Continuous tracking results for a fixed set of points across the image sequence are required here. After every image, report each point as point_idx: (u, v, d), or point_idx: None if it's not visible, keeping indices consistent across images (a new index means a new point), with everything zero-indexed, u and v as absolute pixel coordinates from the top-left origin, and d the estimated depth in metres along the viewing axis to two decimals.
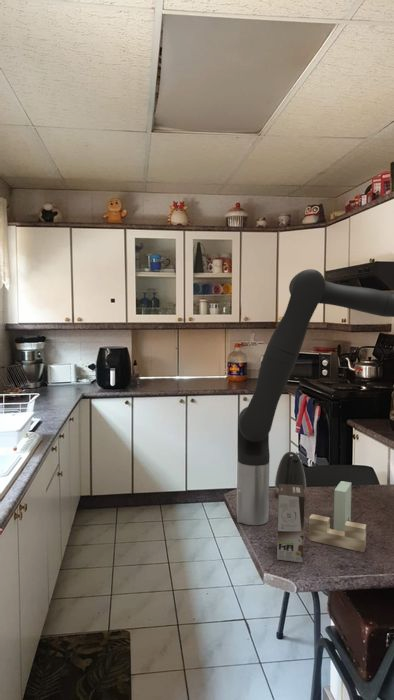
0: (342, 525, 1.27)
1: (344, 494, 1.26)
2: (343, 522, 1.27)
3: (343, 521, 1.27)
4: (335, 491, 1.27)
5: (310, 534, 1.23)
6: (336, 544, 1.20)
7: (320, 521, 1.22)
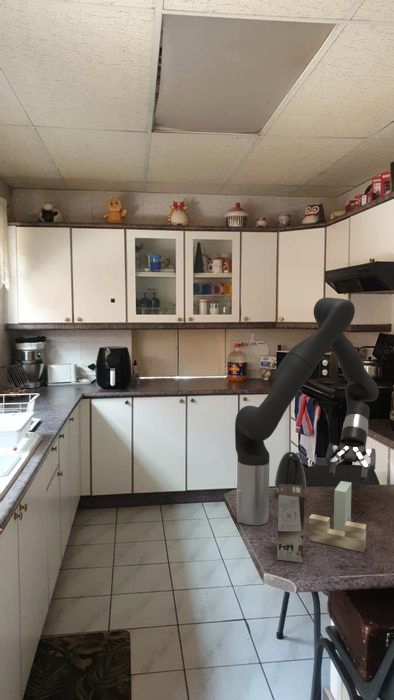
0: (342, 525, 1.27)
1: (344, 494, 1.26)
2: (343, 522, 1.27)
3: (343, 521, 1.27)
4: (335, 491, 1.27)
5: (310, 534, 1.23)
6: (336, 544, 1.20)
7: (320, 521, 1.22)
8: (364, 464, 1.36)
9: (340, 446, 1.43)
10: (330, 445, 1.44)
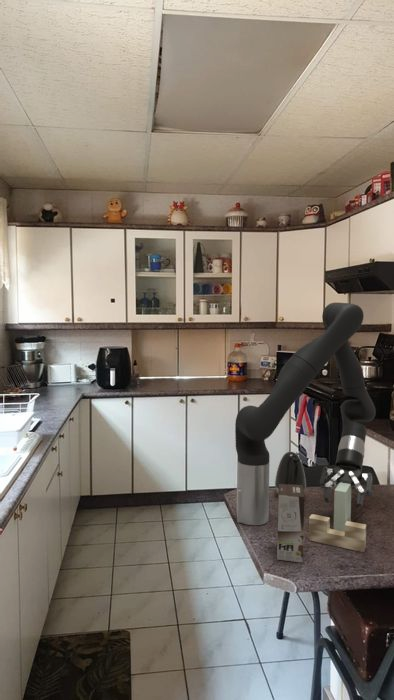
0: (342, 525, 1.27)
1: (344, 494, 1.26)
2: (343, 522, 1.27)
3: (343, 521, 1.27)
4: (335, 491, 1.27)
5: (310, 534, 1.23)
6: (336, 544, 1.20)
7: (320, 521, 1.22)
8: (360, 490, 1.30)
9: (335, 469, 1.37)
10: (325, 468, 1.38)
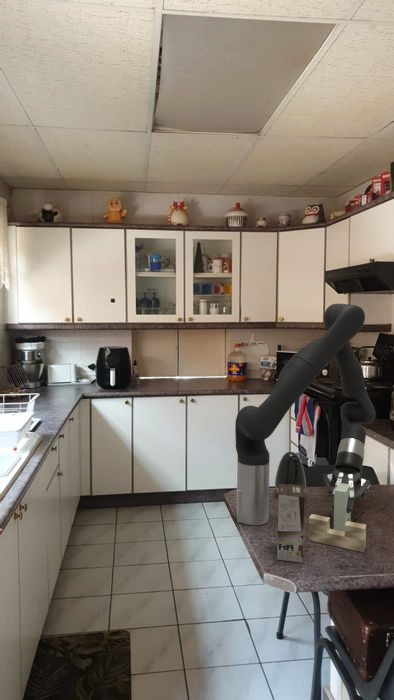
0: (342, 525, 1.27)
1: (344, 494, 1.26)
2: (343, 522, 1.27)
3: (343, 521, 1.27)
4: (335, 491, 1.27)
5: (310, 534, 1.23)
6: (336, 544, 1.20)
7: (320, 521, 1.22)
8: (350, 494, 1.30)
9: (335, 473, 1.36)
10: (325, 476, 1.37)
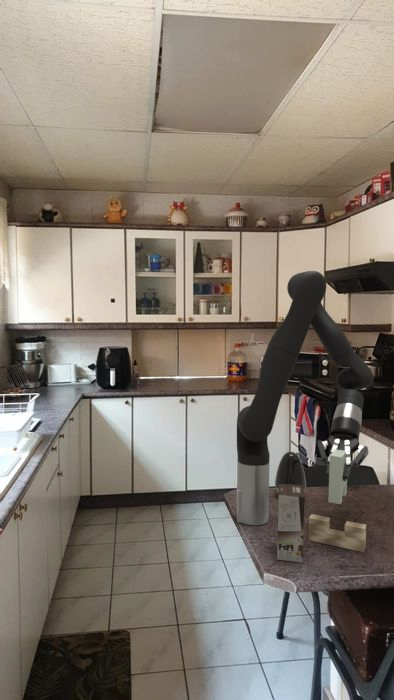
0: (338, 493, 1.17)
1: (340, 459, 1.17)
2: (339, 490, 1.17)
3: (339, 489, 1.17)
4: (330, 457, 1.18)
5: (310, 534, 1.23)
6: (336, 544, 1.20)
7: (320, 521, 1.22)
8: (346, 461, 1.21)
9: (330, 439, 1.27)
10: (319, 442, 1.27)
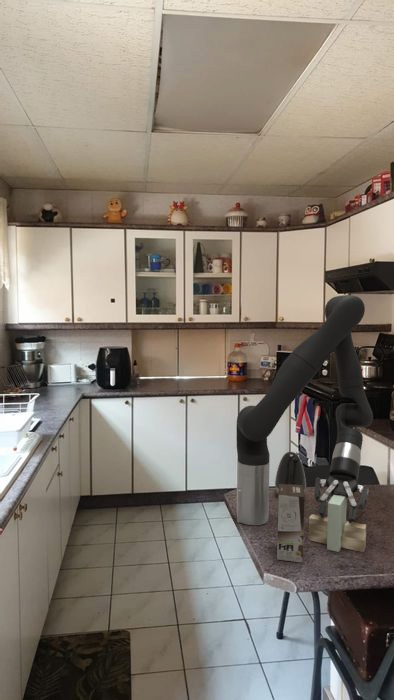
0: (337, 541, 1.17)
1: (338, 507, 1.17)
2: (337, 538, 1.17)
3: (337, 537, 1.17)
4: (329, 504, 1.18)
5: (310, 534, 1.23)
6: None
7: (320, 521, 1.22)
8: (352, 503, 1.20)
9: (329, 479, 1.27)
10: (317, 480, 1.27)
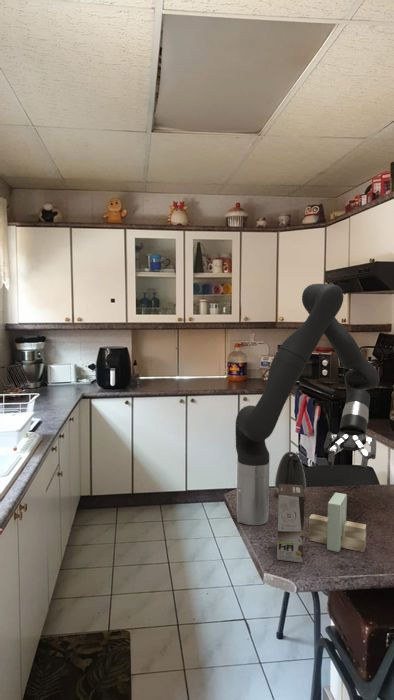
0: (337, 541, 1.17)
1: (338, 507, 1.17)
2: (337, 538, 1.17)
3: (337, 537, 1.17)
4: (329, 504, 1.18)
5: (310, 534, 1.23)
6: None
7: (320, 521, 1.22)
8: (364, 453, 1.31)
9: (339, 435, 1.38)
10: (329, 434, 1.39)
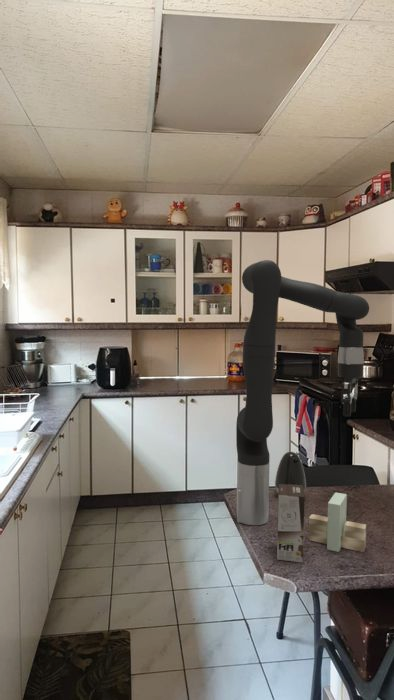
0: (337, 541, 1.17)
1: (338, 507, 1.17)
2: (337, 538, 1.17)
3: (337, 537, 1.17)
4: (329, 504, 1.18)
5: (310, 534, 1.23)
6: None
7: (320, 521, 1.22)
8: None
9: None
10: None
